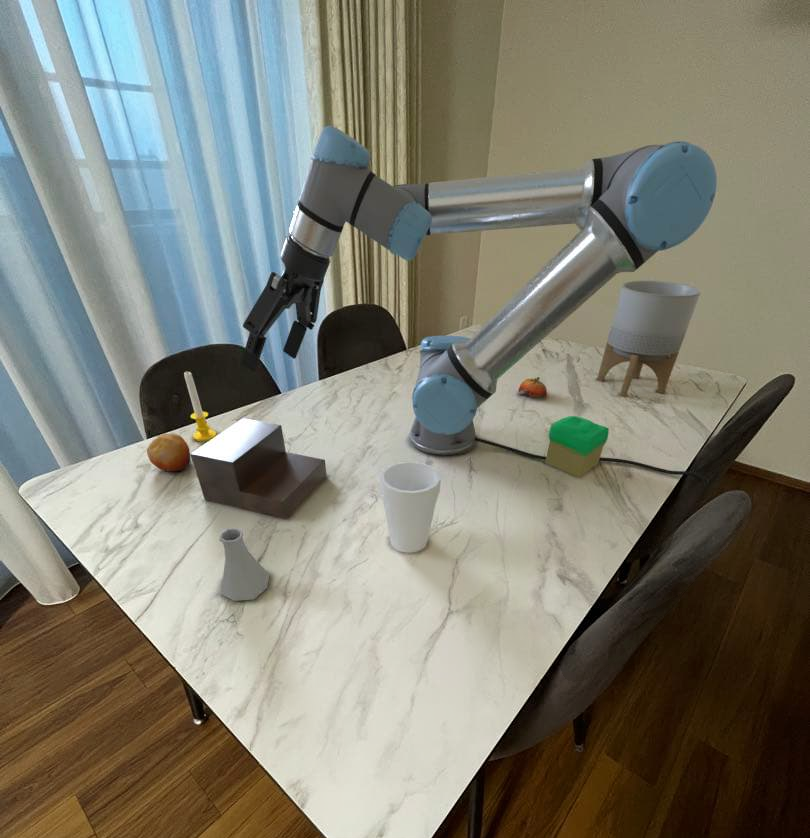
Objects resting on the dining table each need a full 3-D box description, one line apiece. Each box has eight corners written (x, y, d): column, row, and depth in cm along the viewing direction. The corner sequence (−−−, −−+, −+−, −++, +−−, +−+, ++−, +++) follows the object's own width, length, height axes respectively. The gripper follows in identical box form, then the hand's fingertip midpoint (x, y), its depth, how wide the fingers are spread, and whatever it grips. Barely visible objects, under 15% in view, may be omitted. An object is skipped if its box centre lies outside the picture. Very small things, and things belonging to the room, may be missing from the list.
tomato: (551, 397, 127) (537, 375, 125) (529, 412, 130) (514, 391, 128) (548, 390, 134) (534, 369, 132) (527, 405, 137) (513, 385, 135)
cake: (559, 446, 108) (569, 405, 102) (602, 463, 102) (616, 420, 96) (536, 461, 103) (545, 418, 97) (580, 479, 97) (592, 435, 91)
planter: (669, 382, 141) (705, 285, 124) (657, 403, 128) (695, 299, 112) (605, 370, 148) (630, 277, 132) (588, 389, 136) (614, 289, 120)
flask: (257, 605, 69) (243, 554, 63) (212, 598, 70) (193, 547, 64) (277, 572, 75) (266, 522, 68) (235, 566, 76) (220, 516, 69)
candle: (221, 436, 111) (204, 370, 101) (200, 443, 108) (180, 376, 98) (210, 429, 114) (192, 364, 104) (189, 436, 111) (169, 370, 101)
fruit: (206, 451, 102) (184, 430, 95) (190, 483, 100) (167, 464, 92) (175, 445, 104) (151, 424, 97) (159, 476, 102) (134, 457, 94)
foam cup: (380, 525, 84) (379, 462, 76) (431, 523, 85) (435, 460, 77) (383, 560, 77) (381, 494, 69) (439, 557, 78) (444, 492, 70)
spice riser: (326, 476, 97) (321, 432, 91) (286, 519, 86) (277, 472, 79) (252, 461, 102) (242, 418, 96) (204, 500, 90) (190, 453, 84)
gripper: (327, 235, 86) (289, 339, 99) (243, 228, 66) (209, 359, 79) (360, 259, 86) (318, 360, 99) (287, 259, 66) (245, 386, 79)
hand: (269, 360), depth 89 cm, fingers open, 13 cm apart
